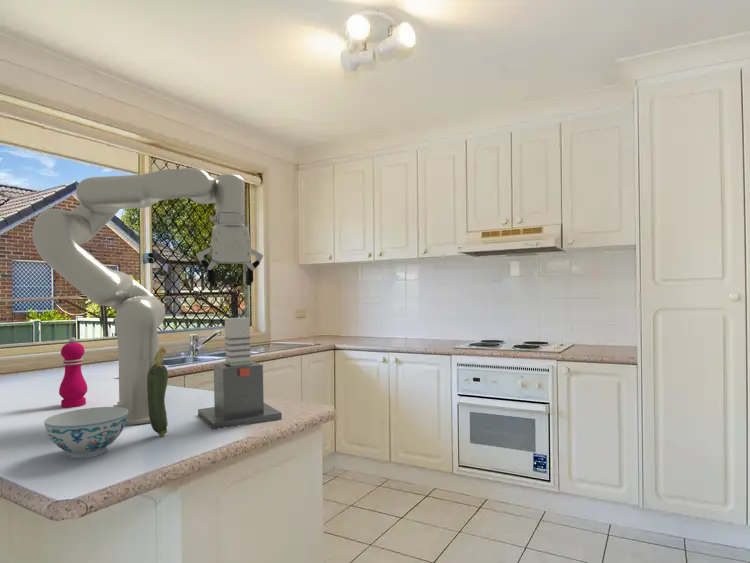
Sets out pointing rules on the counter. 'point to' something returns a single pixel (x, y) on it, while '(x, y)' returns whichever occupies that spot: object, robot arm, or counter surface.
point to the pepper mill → (73, 376)
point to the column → (237, 342)
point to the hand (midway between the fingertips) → (230, 285)
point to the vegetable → (157, 393)
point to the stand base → (238, 397)
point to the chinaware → (86, 430)
